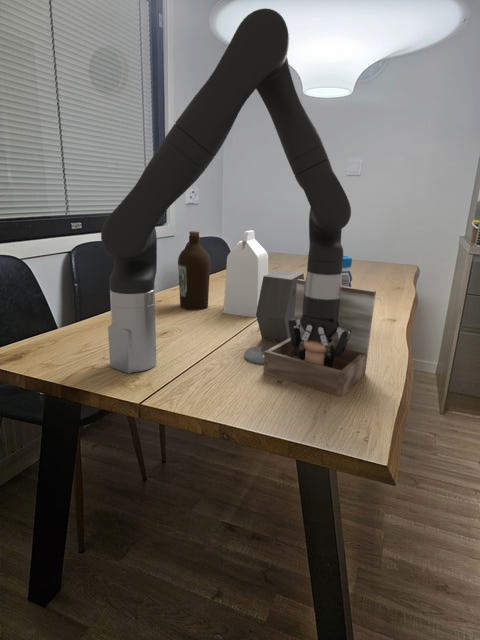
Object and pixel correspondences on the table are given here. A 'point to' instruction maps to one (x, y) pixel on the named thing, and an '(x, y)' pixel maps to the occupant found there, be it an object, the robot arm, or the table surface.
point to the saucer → (255, 354)
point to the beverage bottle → (346, 271)
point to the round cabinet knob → (315, 351)
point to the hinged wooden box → (352, 362)
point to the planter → (277, 304)
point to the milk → (245, 276)
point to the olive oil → (194, 275)
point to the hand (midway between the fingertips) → (315, 368)
